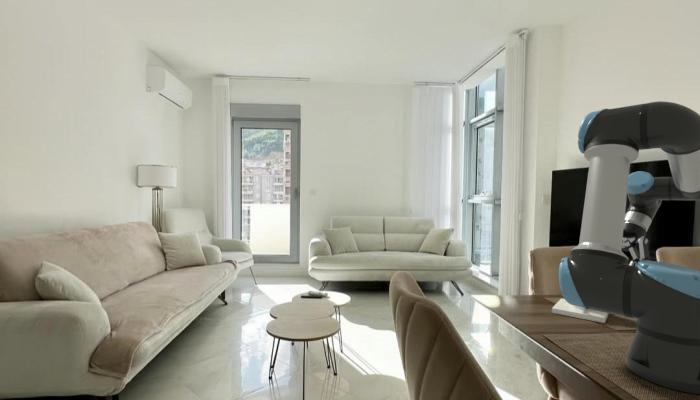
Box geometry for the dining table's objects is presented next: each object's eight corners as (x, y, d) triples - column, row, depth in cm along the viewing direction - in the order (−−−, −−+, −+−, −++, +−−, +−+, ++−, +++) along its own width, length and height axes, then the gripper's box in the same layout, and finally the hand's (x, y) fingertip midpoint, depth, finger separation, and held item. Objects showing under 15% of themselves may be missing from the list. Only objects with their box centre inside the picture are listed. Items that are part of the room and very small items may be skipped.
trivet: (604, 323, 104) (604, 318, 104) (551, 312, 114) (551, 308, 114) (609, 311, 116) (609, 306, 116) (561, 302, 125) (561, 298, 125)
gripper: (680, 232, 109) (654, 289, 105) (609, 235, 134) (585, 282, 129) (662, 218, 109) (635, 274, 104) (594, 224, 133) (570, 270, 129)
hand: (607, 278), depth 117 cm, fingers open, 13 cm apart
